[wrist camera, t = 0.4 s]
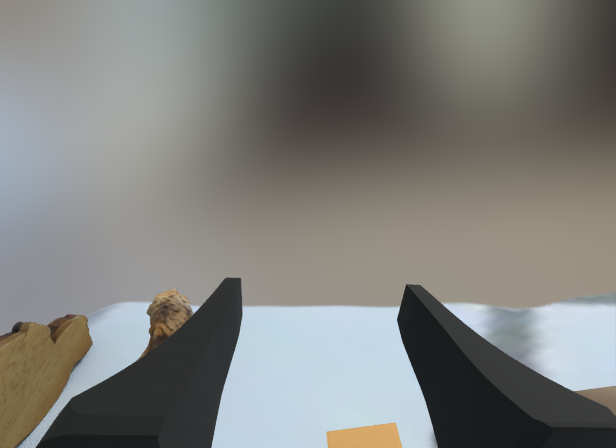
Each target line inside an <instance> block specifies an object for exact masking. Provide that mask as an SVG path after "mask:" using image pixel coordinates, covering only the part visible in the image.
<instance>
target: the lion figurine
mask: <svg viewBox="0 0 616 448" xmlns="http://www.w3.org/2000/svg"><path fill="white" fill-rule="evenodd" d="M147 314H148V315H149V316H150V325H151V327H150V329H149V333H150V336H151V337H150V341H149V344H148V347H147V348H146V350H145V351H144V353H143V354H142V355H141V357H140V358H142V357H143V356H144V355H146V354H147V353H149V352H150V351H151V350H153V349H154V348H155V347H157V346H158V345H159V344H161V343H162V342H163V341H165V340H166V339H167V338H168V337H169V336H171V335H172V334H173V333H174V332H175V331H176V330H177V329H179V328H180V327H181V326H182V325H183V324H184V323H185V322H186V321H187V320H188V319H189V318H190V317H191V316H192V315H193V314H194V313H193V311H192V308H191V307H190V302H189V301H188V299H187V298H186V297H185V296H182V295H180V294H179V293H178V292H177V290H176V289H172V290H171V291H169V290H167V291H166V292H164V293H161V294H158V295H157V296H156V297H155V299H154V300H153V303H152V304H150V306H149V308H148V310H147ZM140 358H139V359H140ZM139 359H138V360H139Z"/></svg>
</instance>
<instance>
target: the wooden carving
mask: <svg viewBox="0 0 616 448" xmlns="http://www.w3.org/2000/svg"><path fill="white" fill-rule="evenodd" d="M87 322H88V320H87V317H85V316H82V315H66V316H65V317H62V318H58V319H56V320H54V321H53V322H51V323H50V324H49V325H47V326H45V325H41V324H36V323H33V322H24V323H23V322H18V323H16V324H15V325H14V327H13V329H12V332H10V333H7V334H5V335H2V336H0V448H15V447H16V446H17V445H18V444H19V443H20V442H21V441H23V440H24V439H25V438H26V437H27V436H28V435H29V434H30V433H31V432H32V431H33V430H34V429H35V428H36V426H37V425H38V424H39V423H40V422H41V421H42V420H43V418H44V417H45V416H46V415H47V413H48V412H49V411H50V409H51V408H52V407H53V405H54V404H55V402H56V401H57V399H58V398H59V396H60V395H61V393H62V391H63V389H64V388H65V386H66V384H67V381H68V379H69V377H70V374H71V372H72V369H73V367H74V365H75V364H76V363H77V362H78V361H79V360H81V359H82V358H83V357H84V356H85V355H86V354H87V352H88V351H89V349H90V347H91V346H92V343H93V342H92V340H91V337H90V335H89V328H88V326H87Z"/></svg>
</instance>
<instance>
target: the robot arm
mask: <svg viewBox="0 0 616 448" xmlns="http://www.w3.org/2000/svg"><path fill="white" fill-rule="evenodd" d="M241 320H242V293H241V278H226V279H224V280H223V282H222V283H221V284H220V285H219V287H218V288H217V289H216V290H215V291H214V293H213V294H212V295H211V296H210V297H209V298H208V299H207V300H206V302H205V303H204V304H203V305H202V306H201V307H200V308H199V309H198V310H197V311H196V312H195V313H194V314H193V315H192V316H191V317H190V318H189V319H188V320H187V321H186V322H185V323H184V324H183V325H182V326H181V327H180V328H179V329H177V330H176V331H175V332H174V333H173V334H172V335H171V336H169V337H168V338H167V339H166V340H165V341H163V342H162V343H161V344H159V345H158V346H157V347H155V348H154V349H153V350H151V351H150V352H149V353H147V354H146V355H144V356H143V357H142V358H140V359H139V360H137V361H136V362H134V363H133V364H131V365H130V366H128V367H127V368H125V369H123V370H122V371H120V372H118V373H117V374H115V375H113V376H112V377H110V378H108V379H107V380H105V381H103V382H101V383H99V384H97V385H96V386H94V387H92V388H90V389H88V390H86V391H84V392H82V393H81V394H79V395H77V396H75V397H73V398H71V400H70V401H69V402H68V403H67V405H66V406H65V407H64V408H63V410H62V411H61V412H60V413H59V415H58V416H57V418H56V419H55V420H54V422H53V423H52V425H51V426H50V428H49V429H48V431H47V432H46V433H45V435H44V436H43V438H42V439H41V441H40V442H39V444H38V445H37V446H36V448H211V446H212V441H213V435H214V430H215V425H216V420H217V415H218V410H219V405H220V400H221V395H222V392H223V388H224V384H225V381H226V377H227V374H228V371H229V367H230V364H231V361H232V357H233V354H234V351H235V347H236V344H237V340H238V337H239V332H240V326H241ZM397 322H398V326H399V330H400V334H401V338H402V342H403V344H404V347H405V349H406V352H407V355H408V357H409V360H410V362H411V365H412V367H413V370H414V372H415V375H416V377H417V380H418V382H419V385H420V387H421V390H422V393H423V396H424V398H425V401H426V405H427V408H428V412H429V415H430V419H431V422H432V426H433V429H434V433H435V437H436V441H437V444H438V448H616V416H615V414H614V413H613V412H612V411H611V410H610V409H609V408H608V407H606V406H604V405H602V404H600V403H597V402H595V401H593V400H591V399H589V398H586V397H584V396H582V395H580V394H578V393H576V392H573V391H571V390H569V389H567V388H565V387H563V386H561V385H560V384H558V383H556V382H554V381H552V380H550V379H548V378H546V377H544V376H542V375H541V374H539V373H537V372H535V371H533V370H532V369H530V368H528V367H527V366H525V365H523V364H522V363H520V362H518V361H517V360H515V359H513V358H512V357H510V356H509V355H507V354H506V353H504V352H503V351H501V350H500V349H498V348H497V347H495V346H494V345H492V344H491V343H489V342H488V341H487V340H485V339H484V338H482V337H481V336H480V335H478V334H477V333H476V332H475V331H473V330H472V329H471V328H469V327H468V326H467V325H466V324H464V323H463V322H462V321H461V320H460V319H458V318H457V317H456V316H455V315H454V314H453V313H451V312H450V311H449V310H448V309H447V308H446V307H445V306H443V305H442V304H441V303H440V302H439V301H437V299H435V298H434V297H433V296H432V295H431V294H430V293H429V292H428V291H426V290H425V289H424V288H423V287H422V286H421V285H406V287H405V291H404V295H403V299H402V303H401V306H400V310H399V314H398V318H397Z"/></svg>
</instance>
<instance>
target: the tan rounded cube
mask: <svg viewBox="0 0 616 448" xmlns="http://www.w3.org/2000/svg"><path fill="white" fill-rule="evenodd" d="M327 442H328V448H402V445H401V442H400V438H399V434H398V430H397V426H396V423H389V424H381V425H374V426H366V427H359V428H351V429H344V430H336V431H329V432H327Z"/></svg>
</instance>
